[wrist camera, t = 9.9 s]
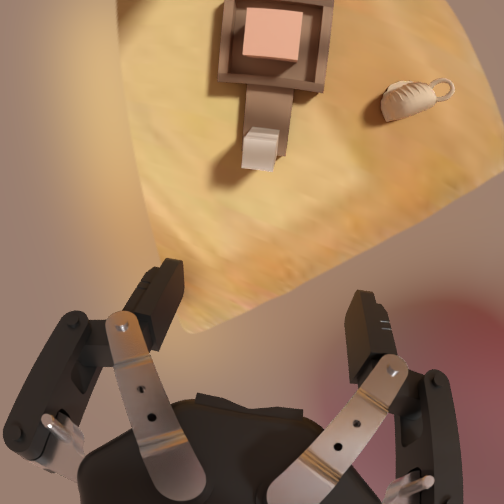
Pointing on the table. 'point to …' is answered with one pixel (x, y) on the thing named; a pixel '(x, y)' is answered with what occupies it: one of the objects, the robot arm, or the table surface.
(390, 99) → the decorative ornament
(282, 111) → the tray
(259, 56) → the terracotta cube
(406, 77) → the table surface
